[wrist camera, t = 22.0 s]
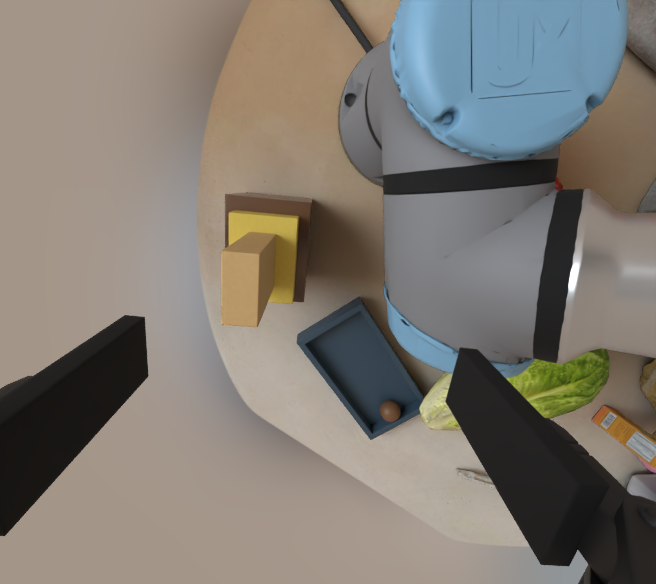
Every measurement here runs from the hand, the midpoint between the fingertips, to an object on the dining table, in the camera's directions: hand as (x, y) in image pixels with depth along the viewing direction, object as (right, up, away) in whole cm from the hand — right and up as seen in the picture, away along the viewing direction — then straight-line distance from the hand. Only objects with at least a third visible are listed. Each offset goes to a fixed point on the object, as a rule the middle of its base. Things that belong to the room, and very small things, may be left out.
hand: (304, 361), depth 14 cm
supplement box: (+45, -17, +38) cm, 62 cm away
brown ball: (+10, -15, +34) cm, 38 cm away
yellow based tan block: (-5, +7, +18) cm, 20 cm away
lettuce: (+24, -8, +34) cm, 43 cm away
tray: (+6, -8, +34) cm, 35 cm away
